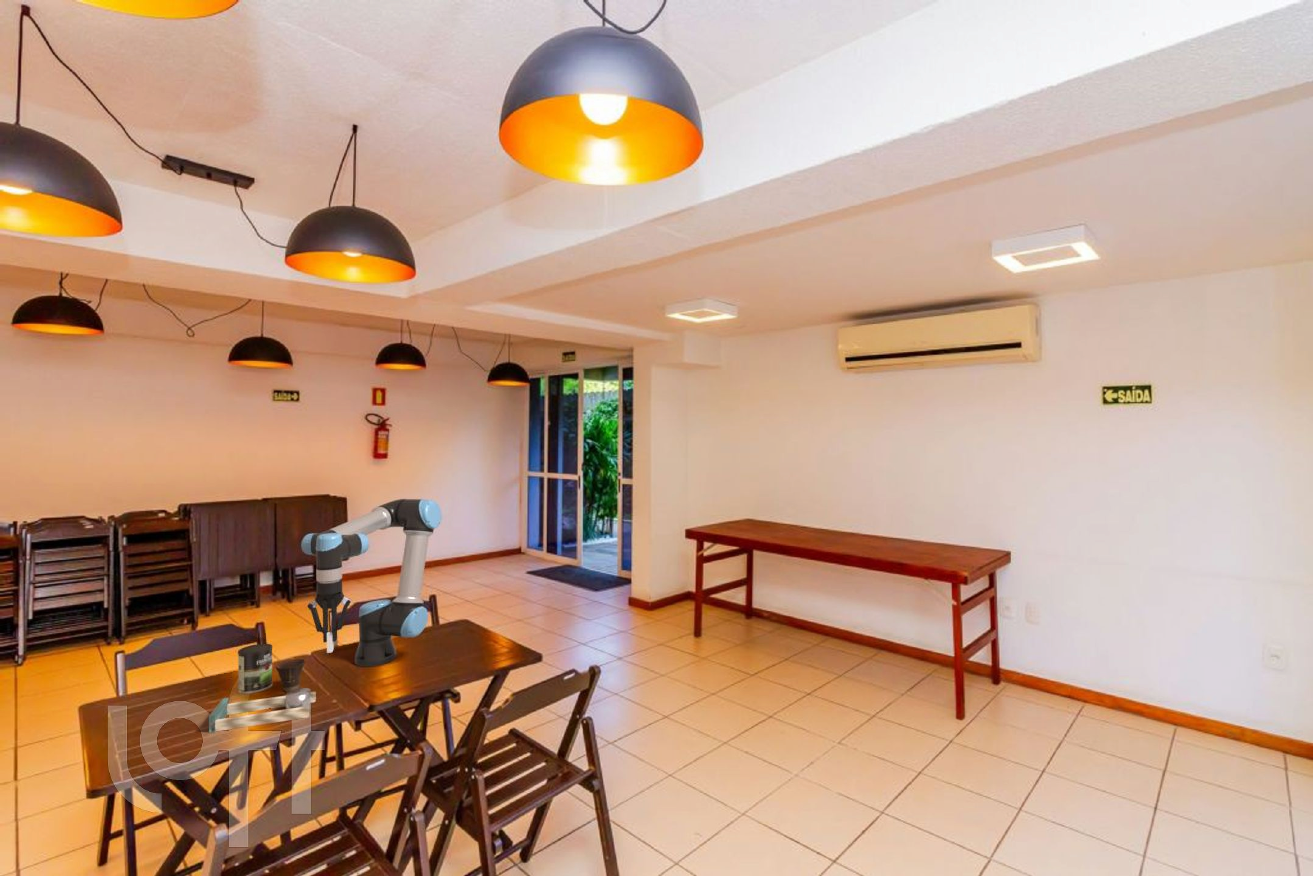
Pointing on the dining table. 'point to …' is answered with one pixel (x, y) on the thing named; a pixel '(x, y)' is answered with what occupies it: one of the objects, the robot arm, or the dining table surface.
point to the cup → (290, 673)
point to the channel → (224, 708)
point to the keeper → (298, 698)
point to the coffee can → (255, 668)
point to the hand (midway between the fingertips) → (330, 651)
